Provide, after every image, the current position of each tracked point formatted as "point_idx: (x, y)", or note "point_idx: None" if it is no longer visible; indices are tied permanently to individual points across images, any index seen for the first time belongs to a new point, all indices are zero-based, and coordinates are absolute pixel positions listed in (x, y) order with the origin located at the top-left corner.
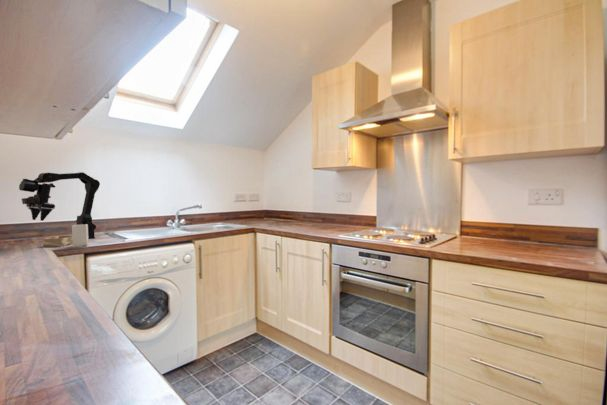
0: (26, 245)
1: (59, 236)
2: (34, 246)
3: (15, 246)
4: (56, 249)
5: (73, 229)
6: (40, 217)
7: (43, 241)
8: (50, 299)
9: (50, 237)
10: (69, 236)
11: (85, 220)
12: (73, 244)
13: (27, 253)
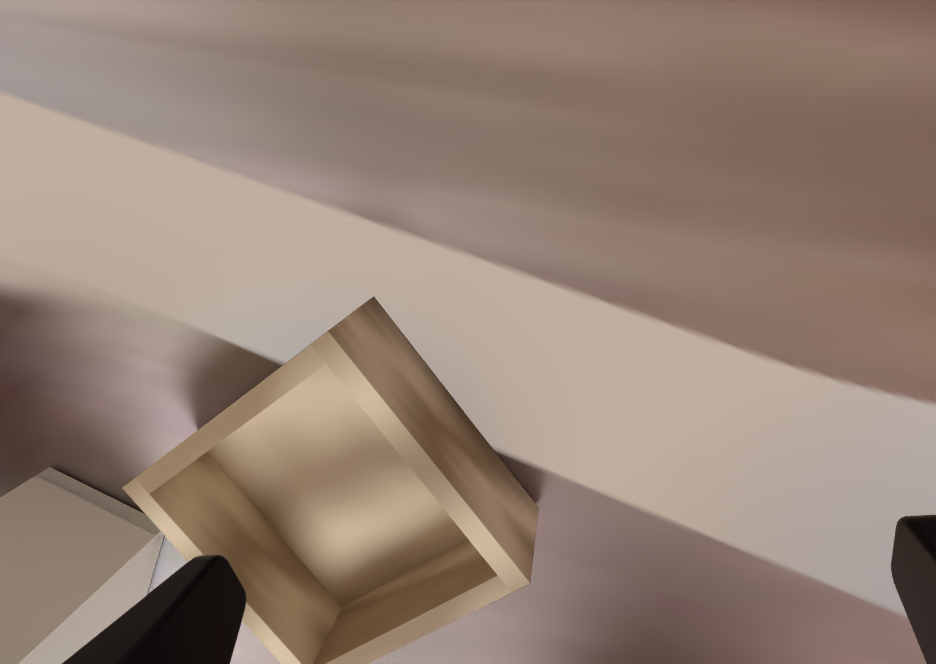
0: (827, 181)
1: (494, 570)
2: (570, 237)
3: (906, 28)
4: (71, 338)
5: None
6: (140, 642)
7: (339, 322)
8: None
9: (419, 449)
10: (373, 633)
11: None
12: (19, 491)
13: (12, 53)
